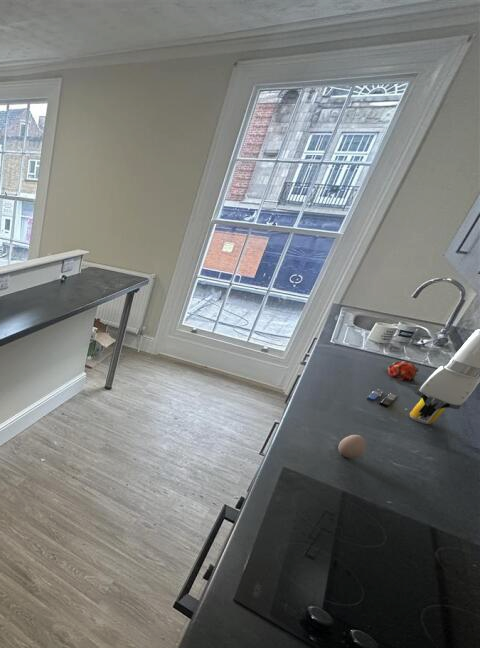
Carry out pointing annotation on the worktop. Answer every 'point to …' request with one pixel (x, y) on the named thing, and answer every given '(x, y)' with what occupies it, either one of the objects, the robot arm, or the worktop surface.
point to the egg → (352, 446)
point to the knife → (388, 400)
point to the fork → (375, 395)
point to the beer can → (428, 419)
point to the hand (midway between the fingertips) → (423, 415)
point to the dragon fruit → (403, 371)
